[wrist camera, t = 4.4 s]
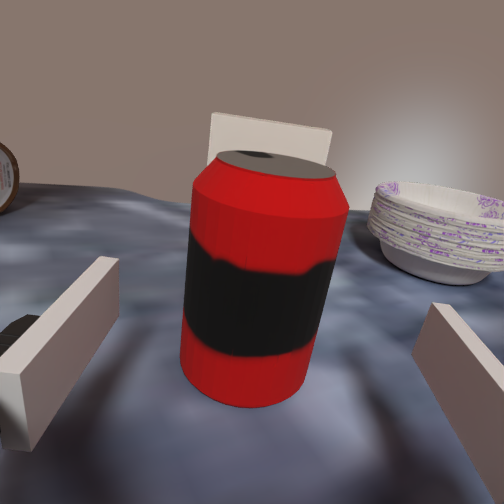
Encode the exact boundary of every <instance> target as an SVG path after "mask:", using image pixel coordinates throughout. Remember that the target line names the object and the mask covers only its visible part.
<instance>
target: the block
mask: <svg viewBox="0 0 504 504" xmlns="http://www.w3.org/2000/svg"><path fill="white" fill-rule="evenodd" d="M331 136H332V131H330V130H329V129H323V128H317V127H310V126H304V125H296V124H290V123H283V122H277V121H271V120H264V119H257V118H251V117H244V116H238V115H231V114H224V113H218V112H214V113H212V119H211V130H210V142H209V152H208V163H207V166H208V165H209V164H210V163H211V162H212V161H213V160H214V158H215V157H216V155H217V153H219V152H223V151H232V150H242V151H258V152H267V153H274V154H280V155H286V156H291V157H296V158H300V159H305V160H308V161H312V162H315V163H318V164H321V165H324V166H325V164H326V159H327V155H328V150H329V145H330V141H331Z"/></svg>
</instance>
